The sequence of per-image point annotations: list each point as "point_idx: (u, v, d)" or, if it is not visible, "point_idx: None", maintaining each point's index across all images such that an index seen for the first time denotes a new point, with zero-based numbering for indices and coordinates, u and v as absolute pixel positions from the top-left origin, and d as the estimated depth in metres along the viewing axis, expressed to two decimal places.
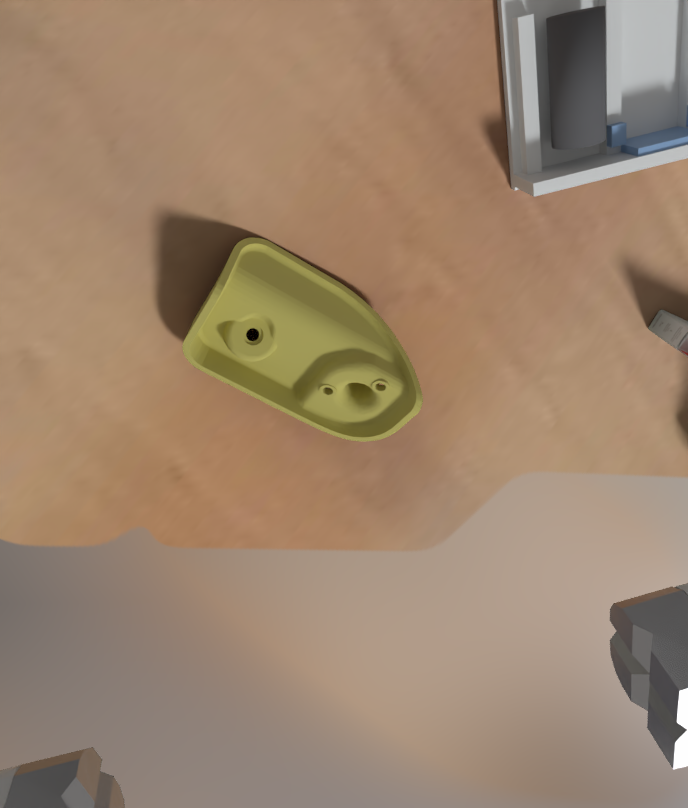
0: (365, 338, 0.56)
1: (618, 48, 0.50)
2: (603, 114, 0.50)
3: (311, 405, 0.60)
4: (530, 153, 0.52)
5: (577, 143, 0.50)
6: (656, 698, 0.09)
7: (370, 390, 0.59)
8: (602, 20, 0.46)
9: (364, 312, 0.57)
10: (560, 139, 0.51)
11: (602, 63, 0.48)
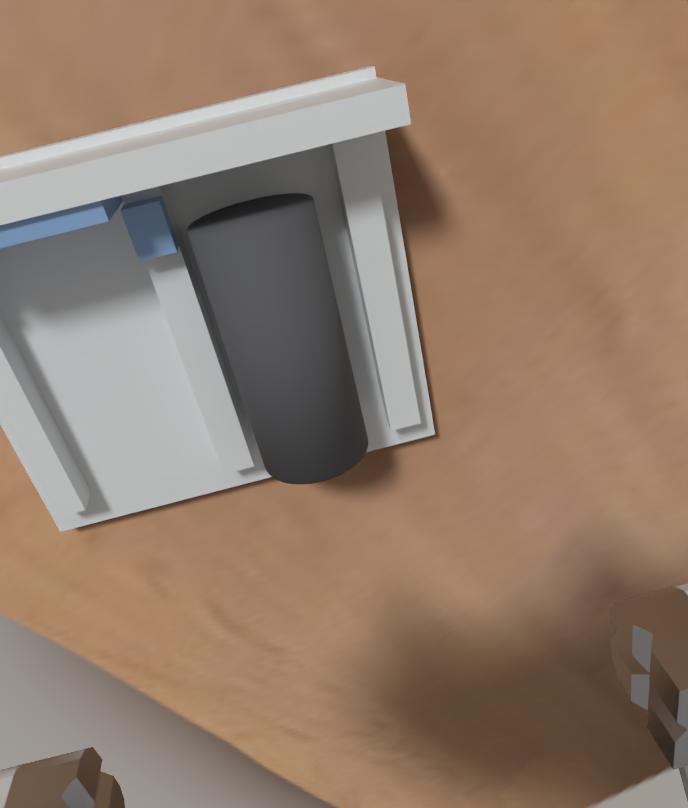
0: None
1: (201, 393, 0.24)
2: (221, 298, 0.20)
3: None
4: (366, 176, 0.21)
5: (278, 235, 0.19)
6: (656, 698, 0.09)
7: None
8: (275, 463, 0.23)
9: None
10: (313, 232, 0.20)
11: (254, 396, 0.22)
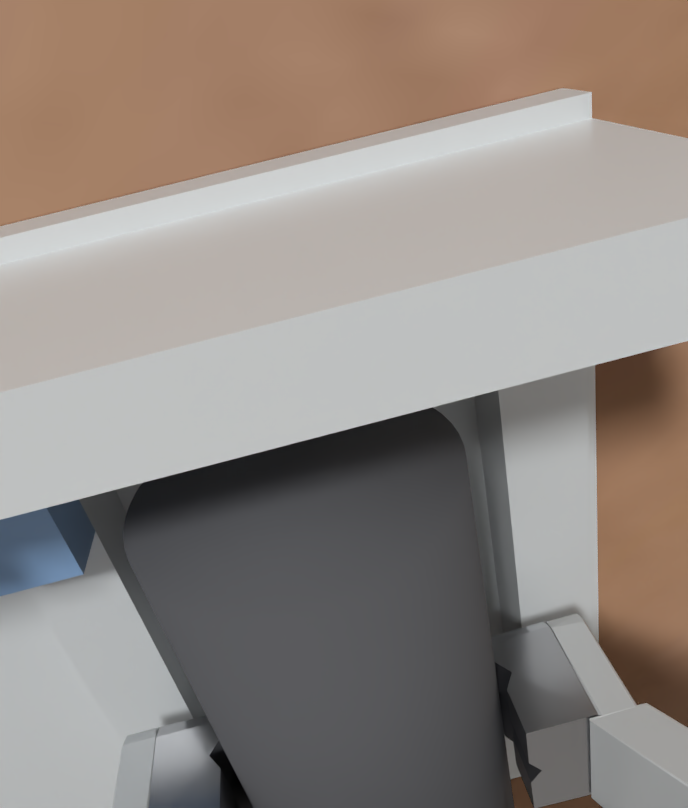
0: None
1: None
2: (230, 721, 0.07)
3: None
4: None
5: (407, 589, 0.06)
6: None
7: None
8: None
9: None
10: (472, 532, 0.07)
11: None
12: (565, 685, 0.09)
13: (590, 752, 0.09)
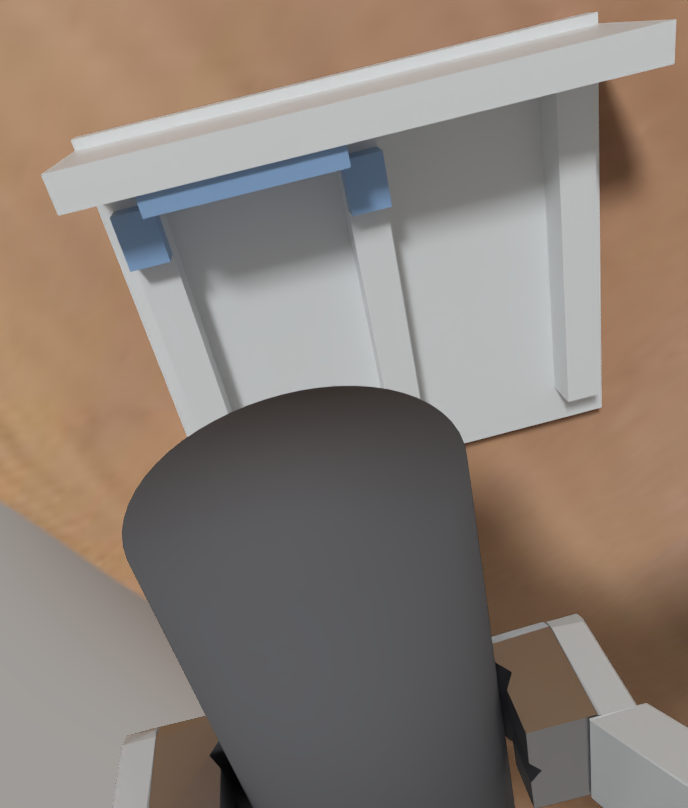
0: None
1: (386, 360, 0.23)
2: (230, 721, 0.07)
3: None
4: (585, 127, 0.20)
5: (407, 588, 0.06)
6: None
7: None
8: None
9: None
10: (472, 531, 0.07)
11: None
12: (565, 685, 0.09)
13: (590, 753, 0.09)
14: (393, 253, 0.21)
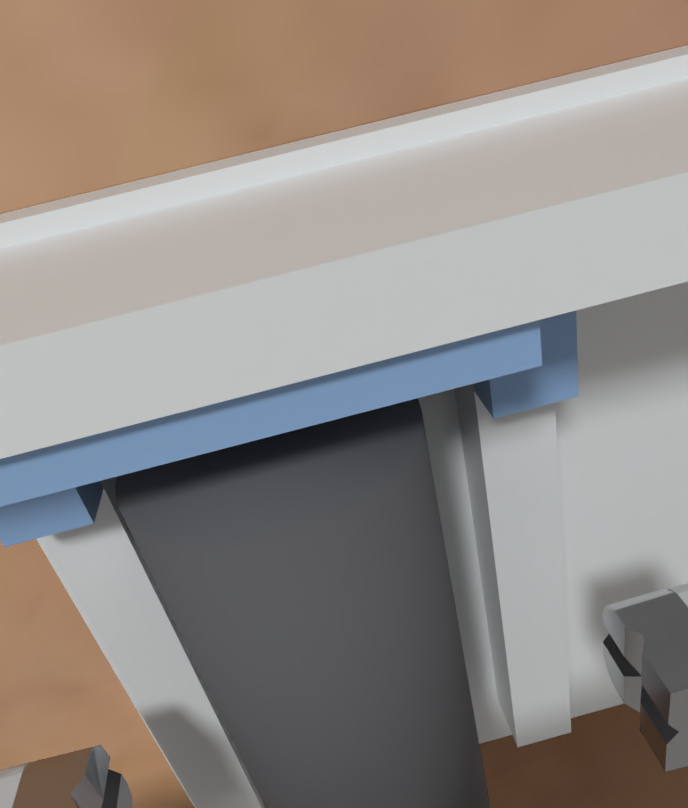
0: None
1: (517, 630, 0.12)
2: (197, 646, 0.08)
3: None
4: None
5: (344, 540, 0.07)
6: (648, 700, 0.09)
7: None
8: None
9: None
10: (422, 499, 0.08)
11: (273, 801, 0.10)
12: None
13: None
14: (554, 462, 0.10)
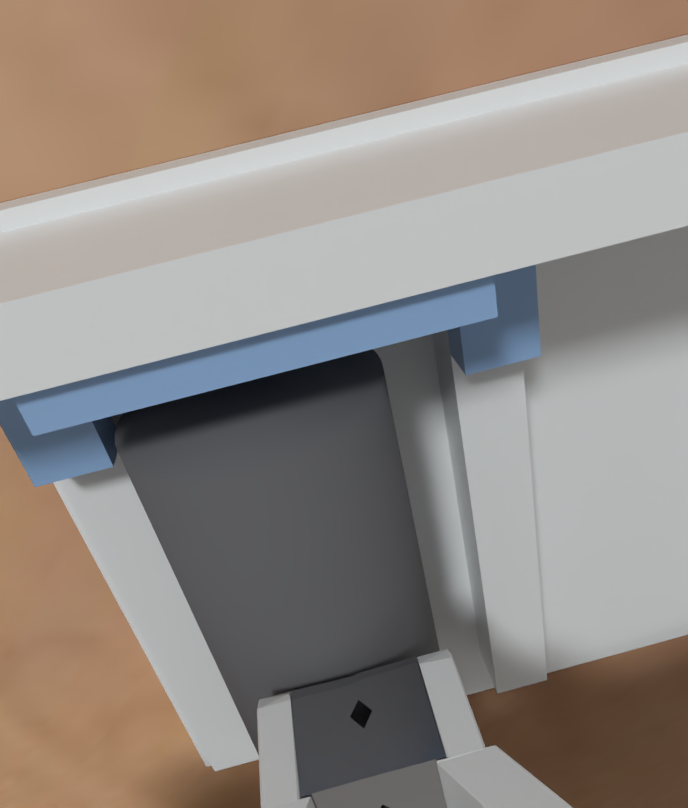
0: None
1: (494, 579, 0.13)
2: (177, 568, 0.10)
3: None
4: None
5: (292, 483, 0.08)
6: None
7: None
8: None
9: None
10: (375, 456, 0.09)
11: (246, 717, 0.11)
12: (420, 725, 0.09)
13: (445, 793, 0.09)
14: (524, 421, 0.12)
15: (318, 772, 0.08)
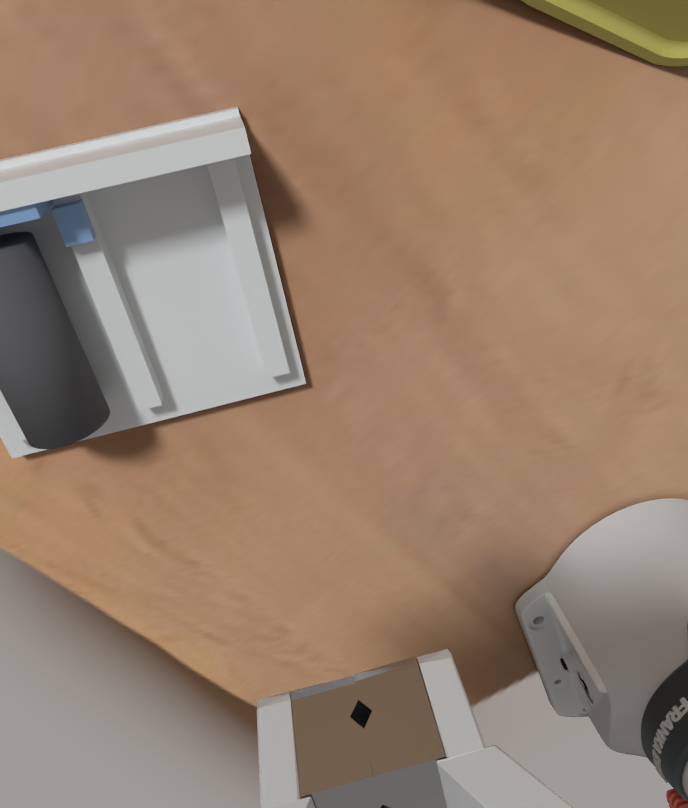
0: None
1: (118, 346, 0.32)
2: None
3: None
4: (233, 186, 0.29)
5: None
6: None
7: None
8: (24, 432, 0.31)
9: None
10: (22, 266, 0.27)
11: None
12: (421, 725, 0.09)
13: (444, 793, 0.09)
14: (108, 271, 0.30)
15: (318, 772, 0.08)
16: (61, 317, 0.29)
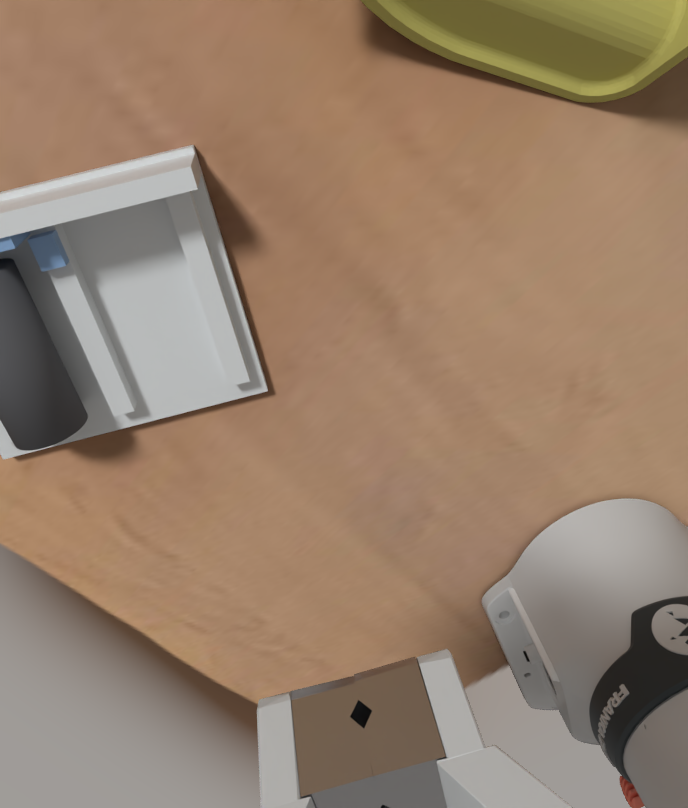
0: None
1: (93, 359, 0.35)
2: None
3: None
4: (189, 216, 0.33)
5: None
6: None
7: None
8: (10, 435, 0.34)
9: (411, 20, 0.30)
10: (3, 288, 0.31)
11: None
12: (420, 725, 0.09)
13: (445, 793, 0.09)
14: (81, 292, 0.33)
15: (318, 771, 0.08)
16: (40, 333, 0.33)
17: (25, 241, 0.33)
